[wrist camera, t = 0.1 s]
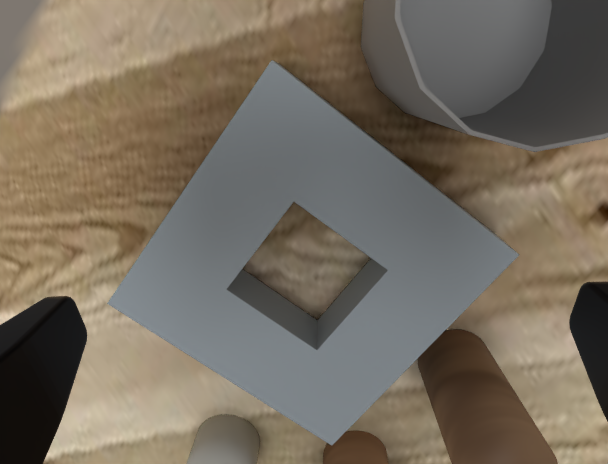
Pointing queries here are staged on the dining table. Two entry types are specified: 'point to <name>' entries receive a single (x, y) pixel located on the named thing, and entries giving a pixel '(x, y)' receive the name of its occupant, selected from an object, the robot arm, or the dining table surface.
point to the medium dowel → (355, 450)
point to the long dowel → (478, 405)
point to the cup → (495, 66)
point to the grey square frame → (339, 217)
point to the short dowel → (225, 442)
